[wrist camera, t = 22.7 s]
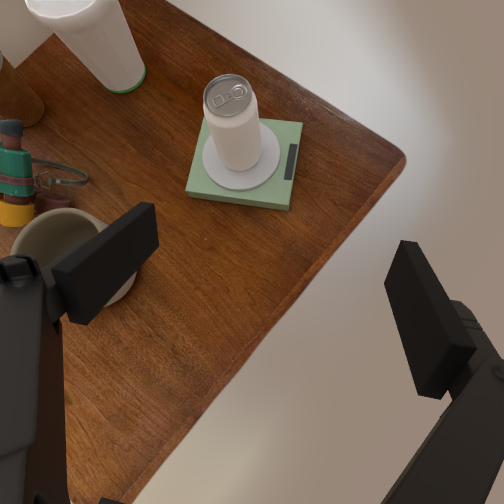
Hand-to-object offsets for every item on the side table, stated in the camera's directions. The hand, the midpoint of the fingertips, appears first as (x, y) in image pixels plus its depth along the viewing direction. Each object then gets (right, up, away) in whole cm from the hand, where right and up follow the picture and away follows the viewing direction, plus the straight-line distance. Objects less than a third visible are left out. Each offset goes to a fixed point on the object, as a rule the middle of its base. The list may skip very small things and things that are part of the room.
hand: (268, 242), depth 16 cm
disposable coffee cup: (-42, +25, +38) cm, 62 cm away
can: (-3, +14, +29) cm, 33 cm away
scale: (-2, +14, +32) cm, 35 cm away
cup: (-25, +32, +39) cm, 56 cm away
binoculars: (-34, +8, +34) cm, 49 cm away
